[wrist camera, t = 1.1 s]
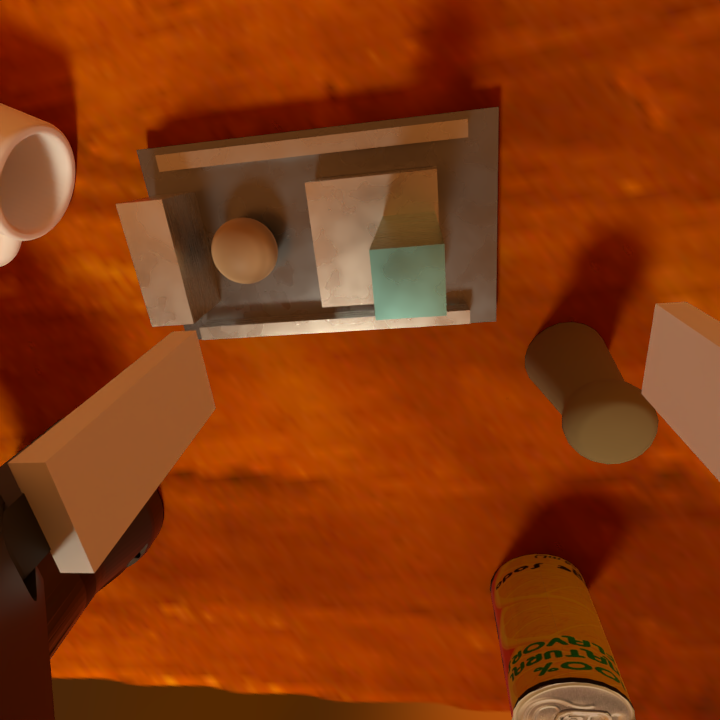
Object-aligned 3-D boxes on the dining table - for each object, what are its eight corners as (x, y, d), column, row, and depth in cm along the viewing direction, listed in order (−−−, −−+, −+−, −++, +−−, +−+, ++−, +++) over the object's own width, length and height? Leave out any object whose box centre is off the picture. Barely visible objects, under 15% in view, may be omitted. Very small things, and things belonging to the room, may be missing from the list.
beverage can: (486, 556, 47) (508, 682, 36) (584, 551, 45) (638, 681, 34) (493, 620, 50) (515, 752, 39) (584, 617, 49) (632, 754, 38)
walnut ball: (232, 276, 36) (209, 294, 32) (219, 216, 34) (193, 226, 30) (289, 272, 35) (273, 289, 31) (278, 210, 33) (260, 219, 29)
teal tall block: (329, 294, 35) (287, 372, 24) (313, 179, 32) (255, 202, 20) (439, 286, 34) (452, 363, 22) (435, 166, 31) (447, 182, 19)
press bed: (195, 333, 40) (157, 366, 34) (147, 149, 34) (92, 151, 28) (492, 314, 37) (507, 348, 31) (495, 108, 31) (514, 100, 25)
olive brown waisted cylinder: (531, 320, 36) (575, 388, 26) (614, 323, 36) (690, 394, 26) (519, 390, 39) (555, 476, 29) (596, 394, 38) (660, 483, 28)
